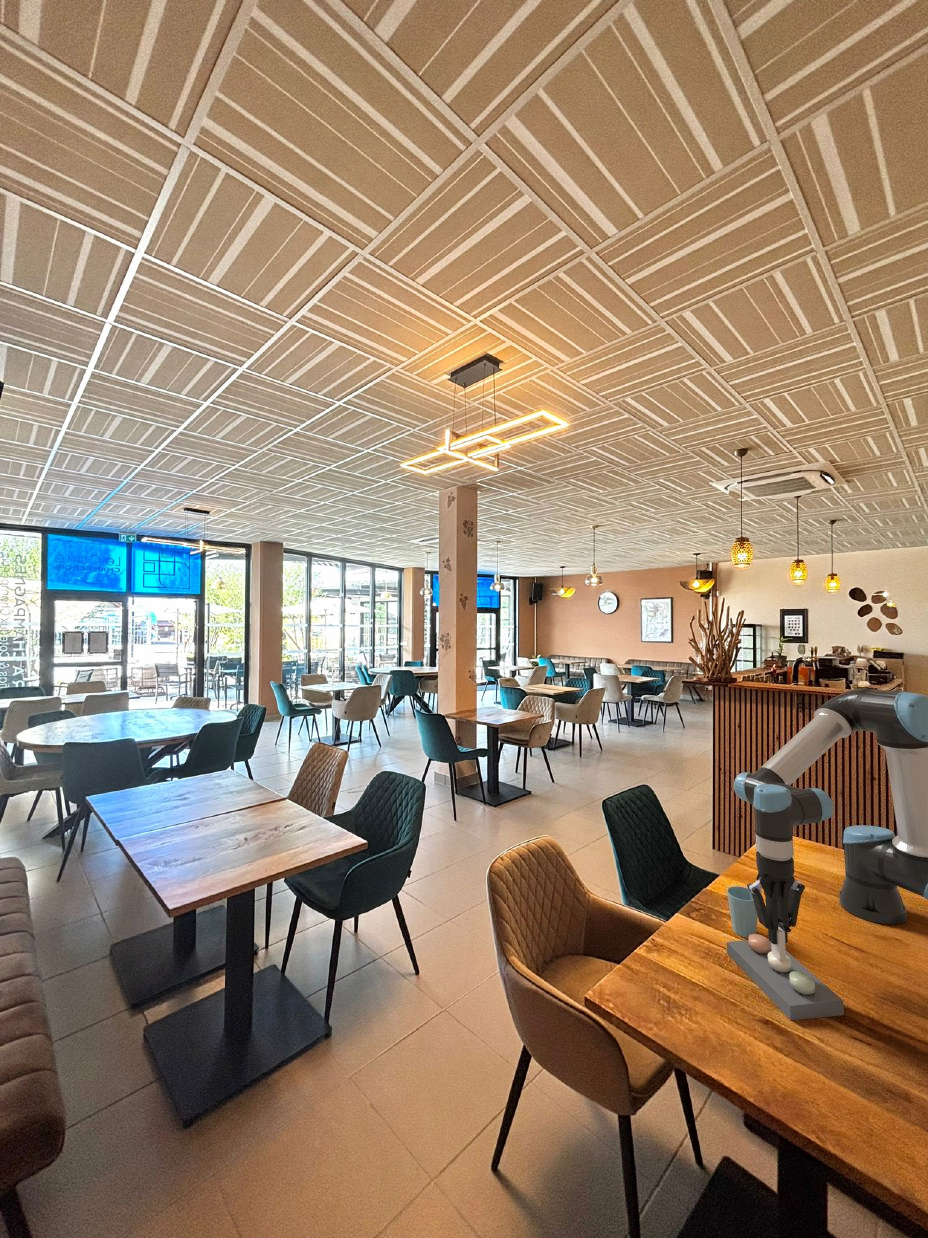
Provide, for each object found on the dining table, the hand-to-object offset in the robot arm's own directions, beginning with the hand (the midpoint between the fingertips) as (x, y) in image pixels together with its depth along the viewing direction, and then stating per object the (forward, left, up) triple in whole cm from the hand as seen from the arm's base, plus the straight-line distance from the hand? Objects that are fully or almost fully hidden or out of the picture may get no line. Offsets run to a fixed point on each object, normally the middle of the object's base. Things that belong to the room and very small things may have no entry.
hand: (778, 956), depth 117 cm
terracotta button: (0, -7, -4) cm, 8 cm away
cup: (-4, -19, -6) cm, 20 cm away
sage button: (0, +7, -4) cm, 8 cm away
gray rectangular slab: (0, 0, -6) cm, 6 cm away
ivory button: (0, 0, -4) cm, 4 cm away
